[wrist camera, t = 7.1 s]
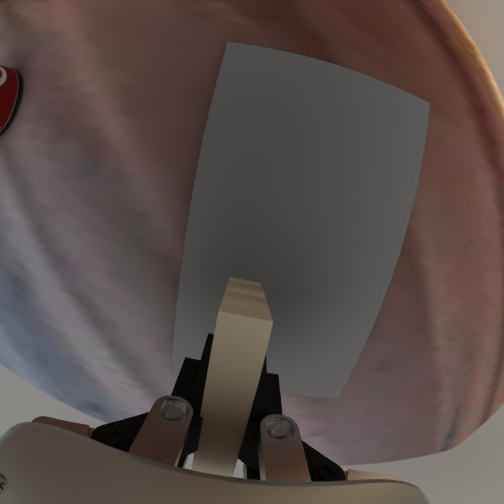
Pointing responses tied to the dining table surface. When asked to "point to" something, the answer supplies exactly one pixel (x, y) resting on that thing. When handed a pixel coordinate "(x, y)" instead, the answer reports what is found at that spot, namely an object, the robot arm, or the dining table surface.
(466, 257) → the dining table surface
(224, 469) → the tile
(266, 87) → the mat
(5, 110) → the soda can
